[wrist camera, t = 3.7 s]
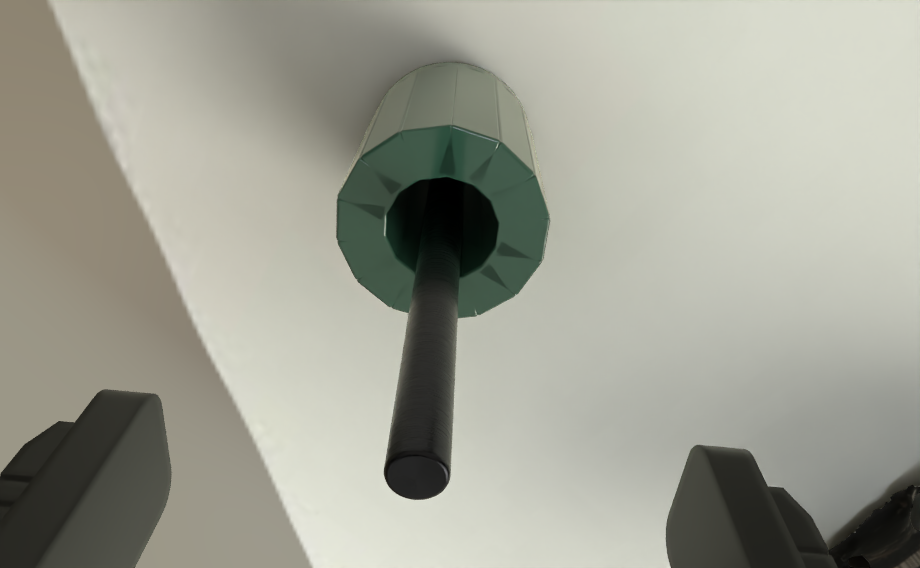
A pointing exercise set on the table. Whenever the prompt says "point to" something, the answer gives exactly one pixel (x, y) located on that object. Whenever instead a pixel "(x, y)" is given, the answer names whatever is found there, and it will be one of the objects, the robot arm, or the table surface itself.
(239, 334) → the table surface
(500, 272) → the holder
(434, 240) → the stylus
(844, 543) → the movie camera
